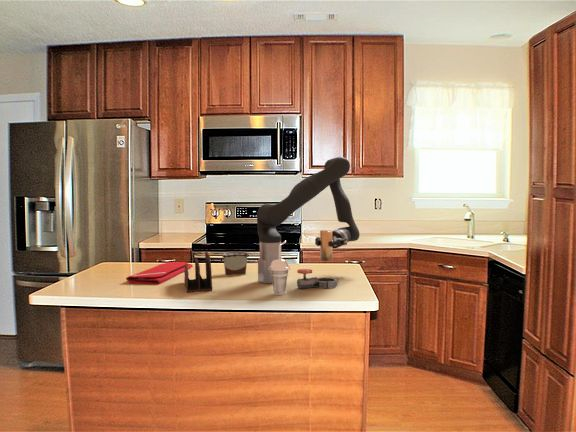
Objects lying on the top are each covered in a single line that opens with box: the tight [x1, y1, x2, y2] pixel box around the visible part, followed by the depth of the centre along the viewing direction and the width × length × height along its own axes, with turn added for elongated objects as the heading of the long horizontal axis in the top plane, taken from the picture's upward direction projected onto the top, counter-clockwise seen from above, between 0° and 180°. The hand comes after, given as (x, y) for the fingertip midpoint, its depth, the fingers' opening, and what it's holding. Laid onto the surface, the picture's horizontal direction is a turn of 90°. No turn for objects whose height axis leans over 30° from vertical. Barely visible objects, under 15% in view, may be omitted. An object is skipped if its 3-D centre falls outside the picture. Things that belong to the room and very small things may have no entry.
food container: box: [222, 251, 249, 276], centre depth 232 cm, size 12×6×10 cm, turn 108°
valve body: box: [296, 268, 338, 290], centre depth 204 cm, size 18×9×7 cm, turn 116°
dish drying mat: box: [125, 261, 194, 285], centre depth 230 cm, size 16×41×4 cm, turn 171°
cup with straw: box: [268, 240, 291, 296], centre depth 192 cm, size 8×9×20 cm
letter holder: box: [184, 251, 213, 294], centre depth 204 cm, size 10×20×14 cm, turn 14°
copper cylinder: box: [319, 229, 333, 262], centre depth 205 cm, size 5×5×12 cm
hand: (324, 243), depth 203 cm, fingers closed on copper cylinder, 5 cm apart
